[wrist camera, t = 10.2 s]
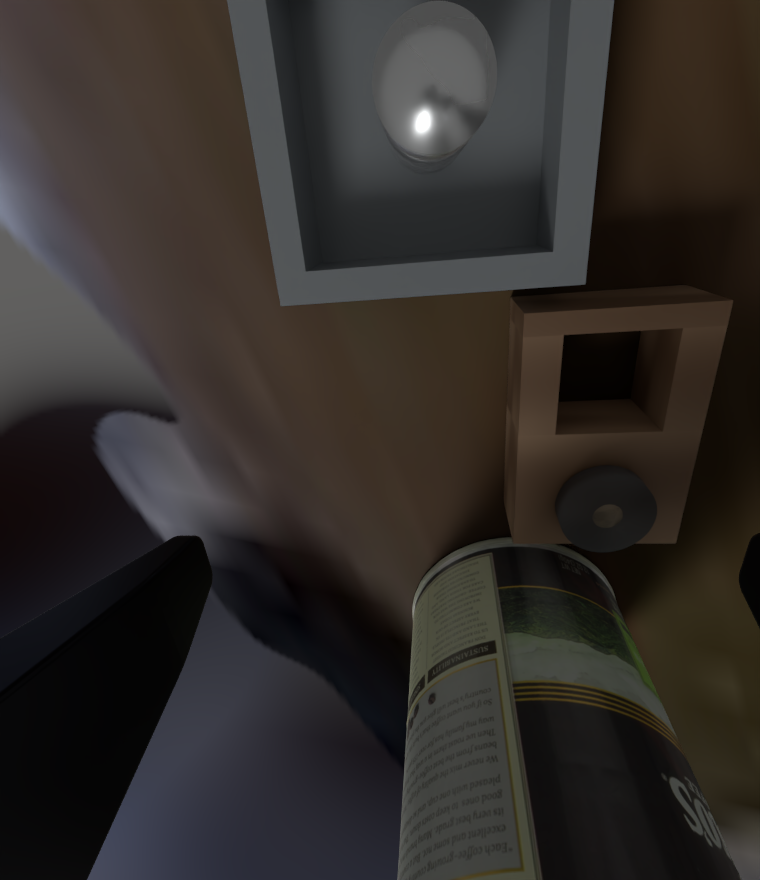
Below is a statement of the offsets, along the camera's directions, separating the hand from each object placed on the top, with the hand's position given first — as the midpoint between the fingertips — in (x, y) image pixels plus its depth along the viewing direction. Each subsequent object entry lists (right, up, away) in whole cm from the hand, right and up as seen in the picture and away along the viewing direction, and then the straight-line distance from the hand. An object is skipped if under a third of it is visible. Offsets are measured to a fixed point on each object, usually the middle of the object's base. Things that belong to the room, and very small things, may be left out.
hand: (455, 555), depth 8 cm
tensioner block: (+7, +3, +11) cm, 13 cm away
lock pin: (0, +12, +7) cm, 14 cm away
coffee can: (+5, -7, +17) cm, 19 cm away
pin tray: (0, +12, +7) cm, 14 cm away
